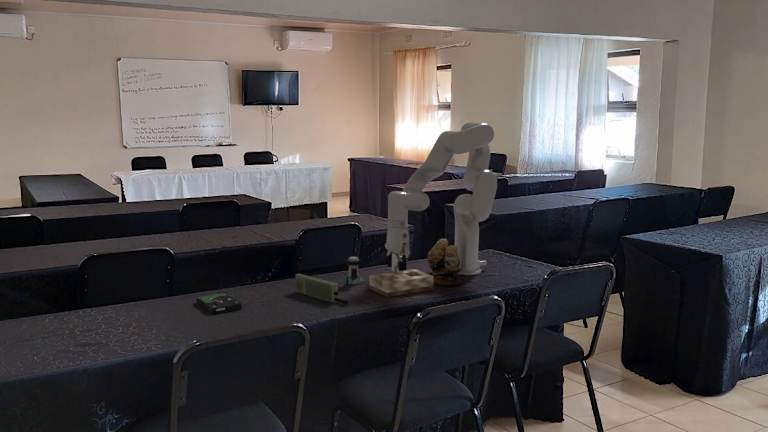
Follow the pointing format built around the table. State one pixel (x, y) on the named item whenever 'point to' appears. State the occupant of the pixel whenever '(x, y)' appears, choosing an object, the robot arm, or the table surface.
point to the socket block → (401, 282)
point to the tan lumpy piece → (444, 264)
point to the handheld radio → (318, 288)
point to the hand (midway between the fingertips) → (396, 268)
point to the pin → (395, 262)
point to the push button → (353, 271)
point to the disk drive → (219, 303)
